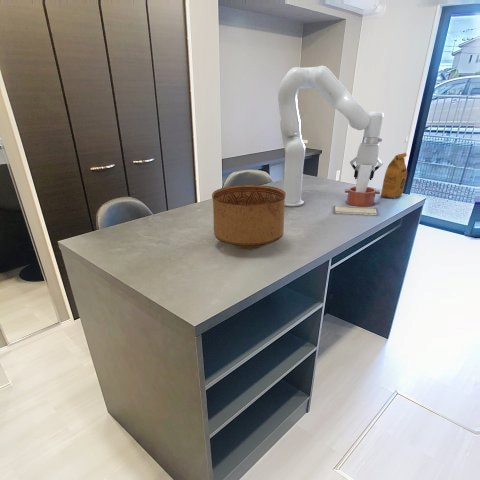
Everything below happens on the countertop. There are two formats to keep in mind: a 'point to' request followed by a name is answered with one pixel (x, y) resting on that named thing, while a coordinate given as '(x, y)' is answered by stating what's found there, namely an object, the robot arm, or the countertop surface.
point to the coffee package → (395, 177)
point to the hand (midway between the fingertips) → (363, 178)
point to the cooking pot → (361, 197)
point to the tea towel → (355, 210)
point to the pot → (248, 215)
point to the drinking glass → (363, 178)
